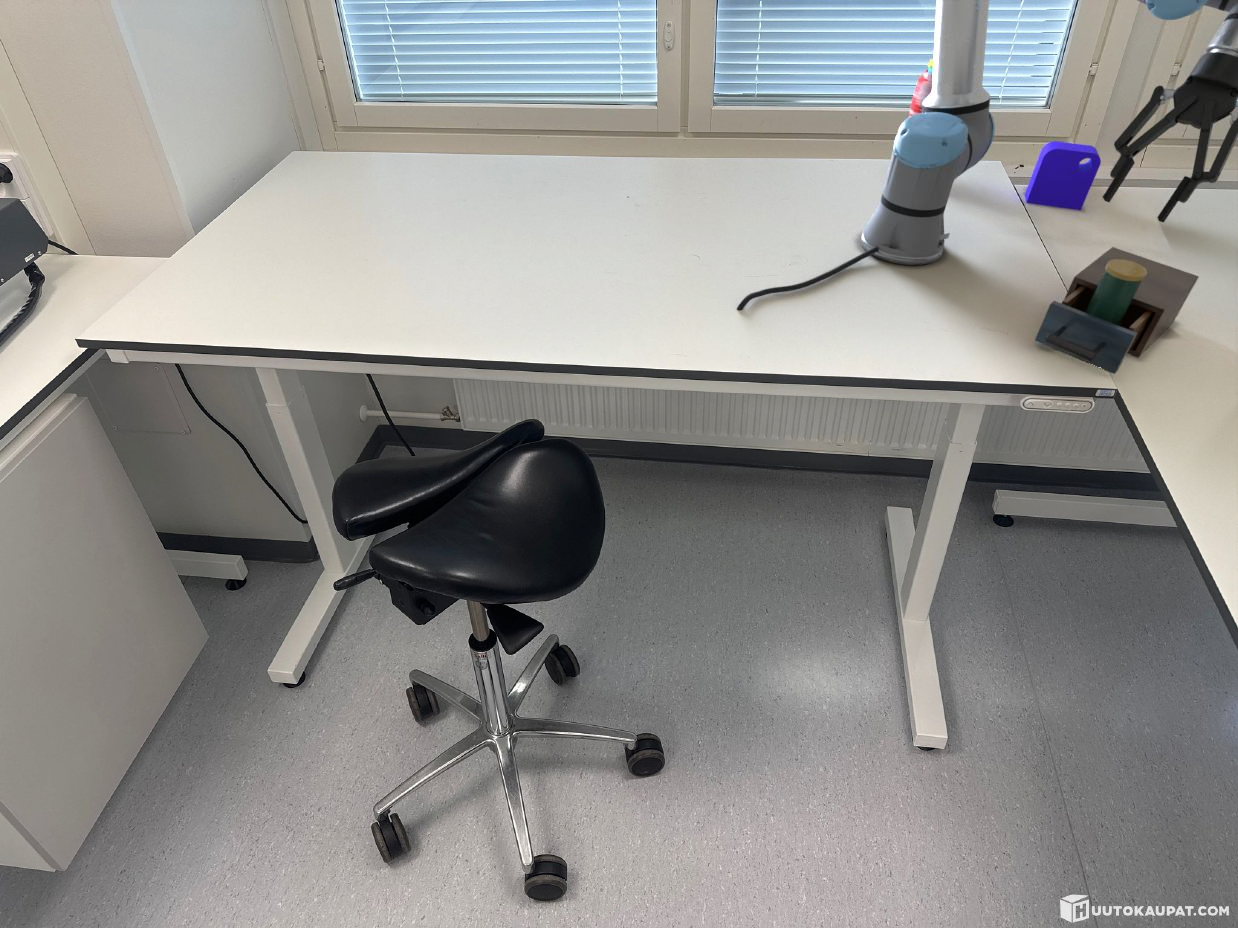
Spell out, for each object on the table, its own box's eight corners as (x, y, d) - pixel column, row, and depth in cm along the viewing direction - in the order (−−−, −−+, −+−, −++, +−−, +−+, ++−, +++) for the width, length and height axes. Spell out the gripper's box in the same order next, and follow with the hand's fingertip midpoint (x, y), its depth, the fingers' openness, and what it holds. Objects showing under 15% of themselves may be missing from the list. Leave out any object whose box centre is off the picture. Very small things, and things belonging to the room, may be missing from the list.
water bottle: (885, 165, 186) (914, 48, 169) (920, 167, 185) (952, 49, 169) (894, 186, 177) (926, 64, 160) (931, 188, 176) (966, 66, 160)
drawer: (1099, 389, 119) (1119, 350, 115) (1018, 353, 126) (1034, 315, 121) (1149, 339, 130) (1169, 302, 125) (1072, 309, 137) (1088, 272, 132)
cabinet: (1138, 358, 127) (1164, 310, 122) (1053, 323, 135) (1074, 276, 129) (1172, 323, 136) (1199, 276, 130) (1091, 292, 143) (1112, 246, 137)
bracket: (1080, 210, 169) (1104, 154, 162) (1026, 203, 172) (1047, 147, 164) (1070, 179, 182) (1092, 125, 175) (1020, 172, 185) (1039, 119, 177)
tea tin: (1089, 346, 126) (1123, 278, 118) (1068, 328, 130) (1099, 260, 122) (1120, 343, 127) (1155, 275, 119) (1097, 325, 131) (1130, 257, 123)
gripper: (1306, 91, 115) (1202, 240, 123) (1160, 52, 126) (1072, 191, 134) (1310, 72, 109) (1200, 230, 117) (1156, 33, 120) (1065, 180, 128)
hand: (1132, 209), depth 125 cm, fingers open, 8 cm apart
